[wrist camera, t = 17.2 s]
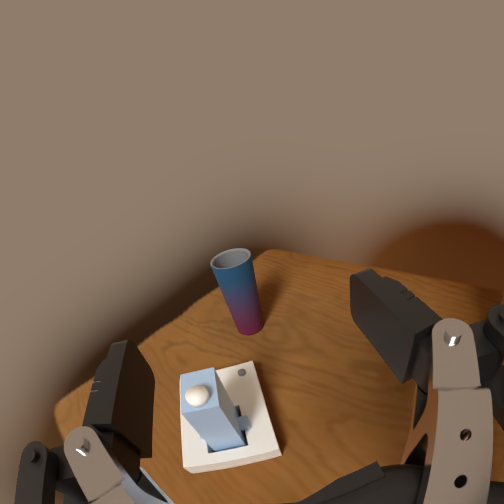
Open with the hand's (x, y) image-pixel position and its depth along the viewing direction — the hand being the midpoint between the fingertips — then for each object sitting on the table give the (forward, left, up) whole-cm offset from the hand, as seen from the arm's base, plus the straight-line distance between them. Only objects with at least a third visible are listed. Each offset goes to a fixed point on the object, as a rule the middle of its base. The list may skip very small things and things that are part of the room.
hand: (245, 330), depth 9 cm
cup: (-22, -26, -28) cm, 44 cm away
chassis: (-4, -16, -28) cm, 32 cm away
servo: (-2, -13, -28) cm, 31 cm away
